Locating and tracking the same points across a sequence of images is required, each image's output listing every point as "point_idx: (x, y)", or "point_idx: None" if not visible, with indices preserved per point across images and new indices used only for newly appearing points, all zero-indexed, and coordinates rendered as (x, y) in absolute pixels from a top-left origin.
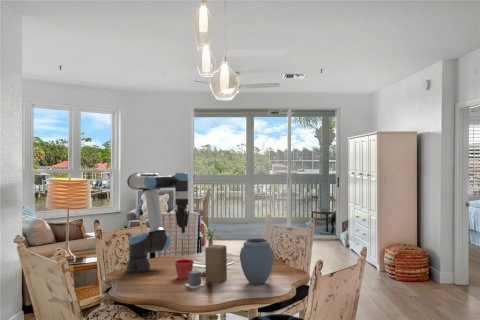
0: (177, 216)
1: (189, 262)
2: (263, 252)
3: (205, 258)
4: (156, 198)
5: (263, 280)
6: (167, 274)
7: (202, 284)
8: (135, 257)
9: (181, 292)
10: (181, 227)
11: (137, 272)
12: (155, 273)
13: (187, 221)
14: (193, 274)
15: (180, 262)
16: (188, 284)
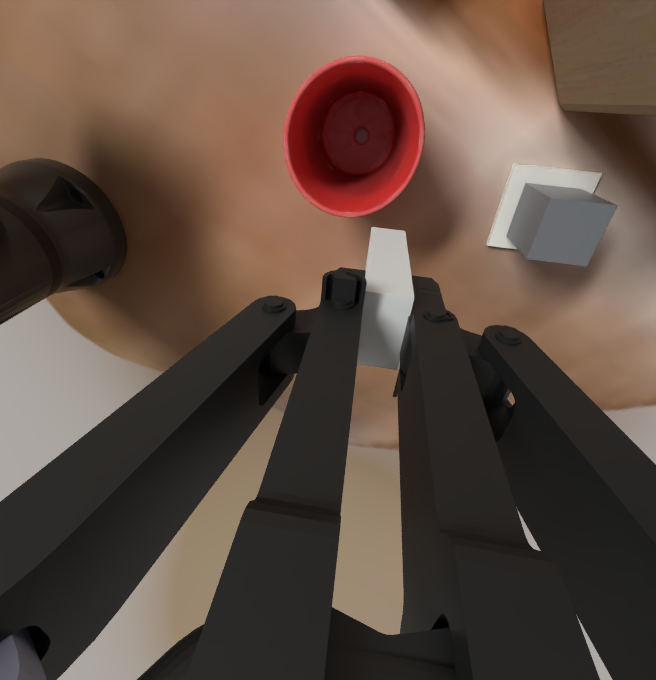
0: (185, 514)
1: (344, 71)
2: None
3: (653, 115)
4: None
5: None
6: (234, 167)
7: (585, 180)
8: (52, 292)
9: (546, 320)
10: (399, 358)
11: (122, 262)
12: (175, 202)
13: (596, 413)
14: (585, 262)
15: (296, 134)
16: (506, 234)
